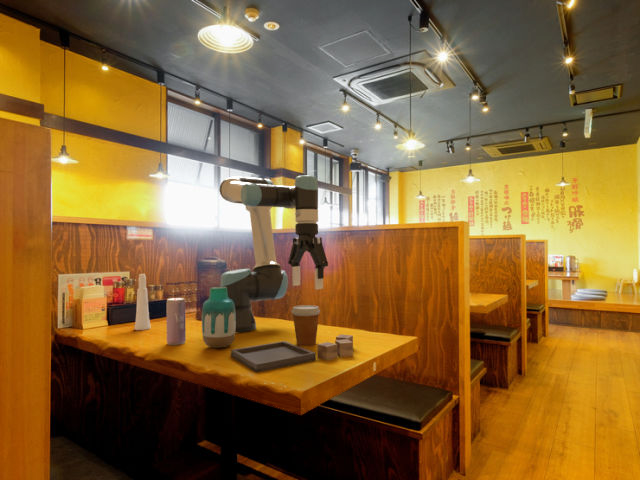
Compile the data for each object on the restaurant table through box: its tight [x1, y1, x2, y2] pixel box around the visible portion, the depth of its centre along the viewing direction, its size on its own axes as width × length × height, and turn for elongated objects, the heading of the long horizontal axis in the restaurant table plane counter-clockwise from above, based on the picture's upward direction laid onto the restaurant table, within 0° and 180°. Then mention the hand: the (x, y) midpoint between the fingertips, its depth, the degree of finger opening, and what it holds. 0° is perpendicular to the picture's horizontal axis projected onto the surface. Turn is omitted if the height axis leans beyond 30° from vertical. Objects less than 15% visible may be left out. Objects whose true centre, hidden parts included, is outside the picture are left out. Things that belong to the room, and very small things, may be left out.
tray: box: [230, 340, 317, 373], centre depth 112 cm, size 18×18×2 cm
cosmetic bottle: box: [134, 273, 152, 331], centre depth 157 cm, size 6×6×22 cm
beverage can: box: [166, 297, 187, 346], centre depth 132 cm, size 6×6×15 cm
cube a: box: [316, 341, 338, 362], centre depth 111 cm, size 4×4×4 cm
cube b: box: [334, 339, 354, 358], centre depth 115 cm, size 4×4×4 cm
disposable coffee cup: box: [291, 304, 321, 347], centre depth 129 cm, size 10×10×12 cm
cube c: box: [335, 334, 354, 343], centre depth 121 cm, size 4×4×4 cm
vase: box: [201, 286, 236, 349], centre depth 126 cm, size 11×11×19 cm
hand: (307, 287), depth 129 cm, fingers open, 13 cm apart
